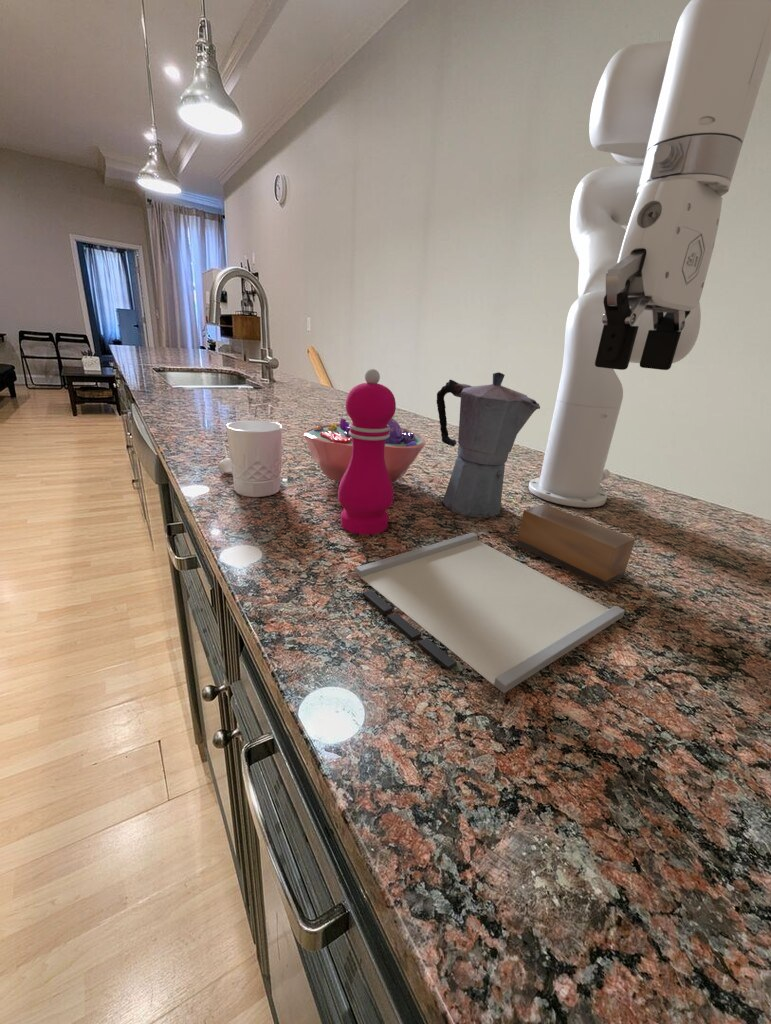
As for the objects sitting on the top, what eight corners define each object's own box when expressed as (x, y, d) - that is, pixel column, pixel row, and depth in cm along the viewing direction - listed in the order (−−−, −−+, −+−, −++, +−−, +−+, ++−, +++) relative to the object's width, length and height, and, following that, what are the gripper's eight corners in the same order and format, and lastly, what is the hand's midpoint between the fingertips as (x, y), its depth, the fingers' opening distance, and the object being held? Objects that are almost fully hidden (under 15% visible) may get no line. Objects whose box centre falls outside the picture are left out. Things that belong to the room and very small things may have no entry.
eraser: (537, 538, 59) (545, 503, 57) (623, 578, 51) (635, 539, 49) (516, 546, 57) (523, 510, 55) (602, 589, 48) (614, 548, 46)
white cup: (237, 480, 72) (233, 418, 68) (286, 482, 73) (285, 421, 69) (225, 498, 65) (220, 430, 61) (280, 499, 66) (278, 432, 62)
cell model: (319, 462, 85) (320, 402, 80) (424, 473, 83) (431, 412, 78) (289, 491, 69) (288, 418, 65) (417, 506, 67) (425, 432, 63)
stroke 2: (386, 622, 40) (387, 615, 40) (395, 618, 41) (395, 612, 41) (412, 644, 38) (412, 637, 38) (420, 640, 38) (421, 633, 38)
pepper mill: (385, 541, 55) (397, 374, 48) (329, 533, 57) (333, 368, 49) (395, 519, 62) (408, 369, 54) (345, 512, 63) (351, 364, 56)
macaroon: (247, 470, 77) (246, 456, 76) (240, 479, 73) (239, 464, 72) (222, 469, 77) (221, 455, 76) (213, 478, 73) (212, 463, 72)
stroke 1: (362, 598, 44) (362, 592, 43) (370, 595, 44) (371, 589, 44) (384, 617, 41) (384, 611, 41) (392, 614, 42) (393, 607, 41)
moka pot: (507, 531, 61) (536, 379, 53) (409, 503, 68) (422, 366, 60) (527, 511, 68) (555, 375, 61) (437, 487, 76) (451, 364, 68)
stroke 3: (416, 648, 37) (417, 641, 37) (425, 643, 38) (426, 637, 38) (447, 674, 35) (448, 666, 35) (456, 669, 35) (457, 662, 35)
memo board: (471, 538, 58) (472, 532, 57) (622, 618, 43) (625, 610, 43) (355, 575, 47) (355, 567, 47) (503, 696, 33) (505, 685, 33)
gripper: (692, 136, 34) (629, 372, 40) (763, 190, 44) (703, 372, 50) (598, 159, 39) (556, 364, 46) (680, 202, 49) (636, 365, 56)
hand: (633, 368), depth 48 cm, fingers open, 9 cm apart
